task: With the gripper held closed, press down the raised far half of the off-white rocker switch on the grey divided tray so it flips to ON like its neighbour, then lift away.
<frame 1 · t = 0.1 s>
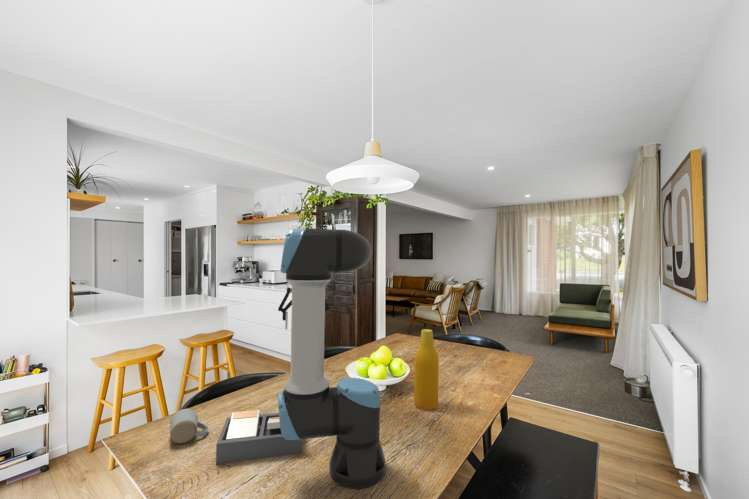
hand: (303, 327, 135), 28 cm above the table, tool pointing down, fingers open, 13 cm apart
grey divided tray: (262, 443, 101), on the table
breaker rocker: (243, 425, 100), point 6 cm above the table, hinge at -18.0°
beer bottle: (426, 406, 129), on the table
ceramic mug: (188, 437, 105), on the table
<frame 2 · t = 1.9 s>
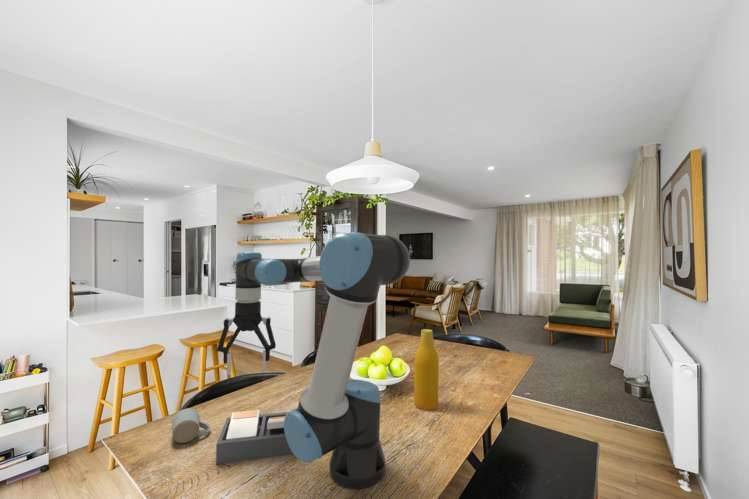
hand: (246, 372, 104), 21 cm above the table, tool pointing down, fingers open, 10 cm apart
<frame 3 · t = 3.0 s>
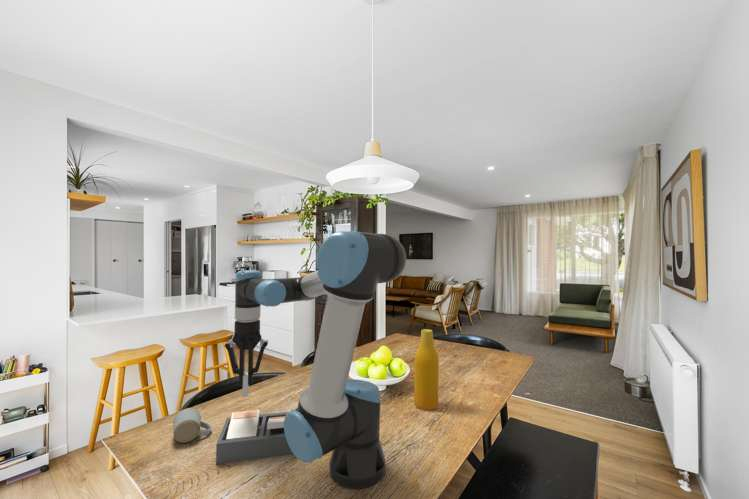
hand: (245, 394, 104), 14 cm above the table, tool pointing down, fingers closed
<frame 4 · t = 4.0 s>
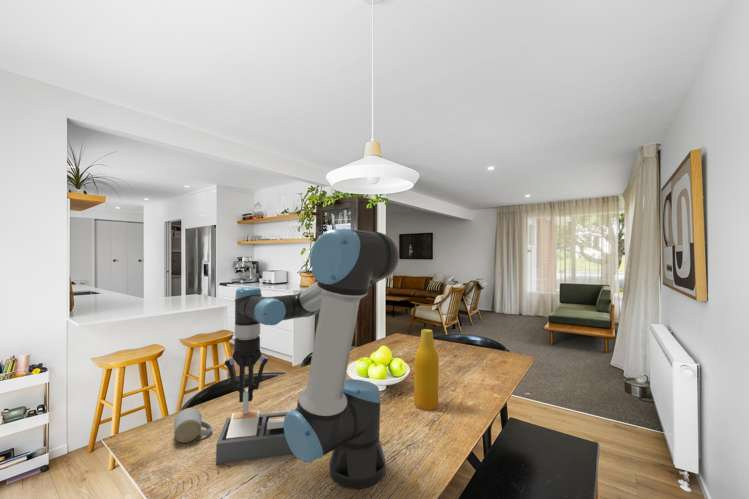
hand: (245, 411, 104), 8 cm above the table, tool pointing down, fingers closed
breaker rocker: (243, 425, 100), point 6 cm above the table, hinge at -14.7°, touching gripper
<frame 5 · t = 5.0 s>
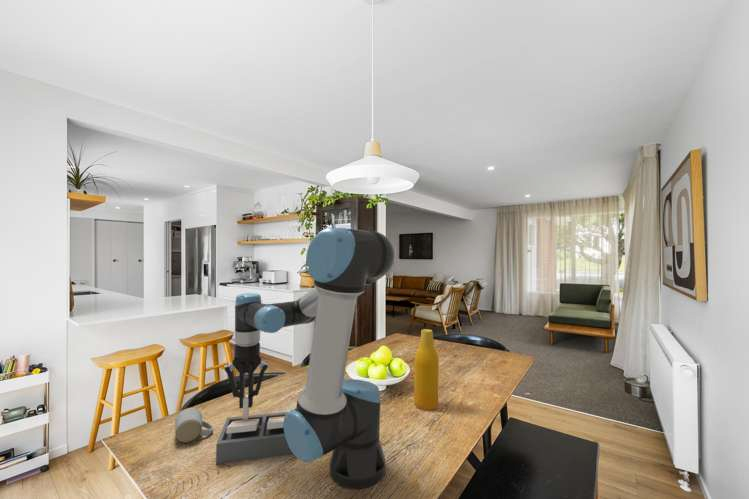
hand: (245, 417, 105), 6 cm above the table, tool pointing down, fingers closed
breaker rocker: (243, 425, 100), point 6 cm above the table, hinge at 17.7°, touching gripper
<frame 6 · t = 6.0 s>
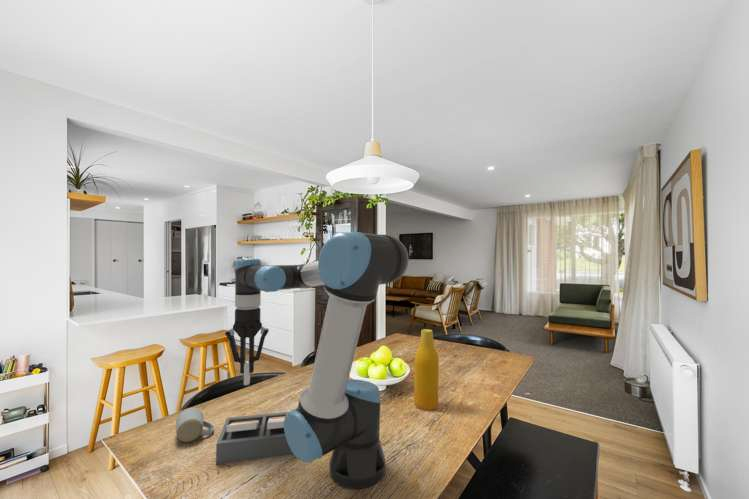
hand: (246, 383, 104), 17 cm above the table, tool pointing down, fingers closed
breaker rocker: (243, 425, 100), point 6 cm above the table, hinge at 22.1°
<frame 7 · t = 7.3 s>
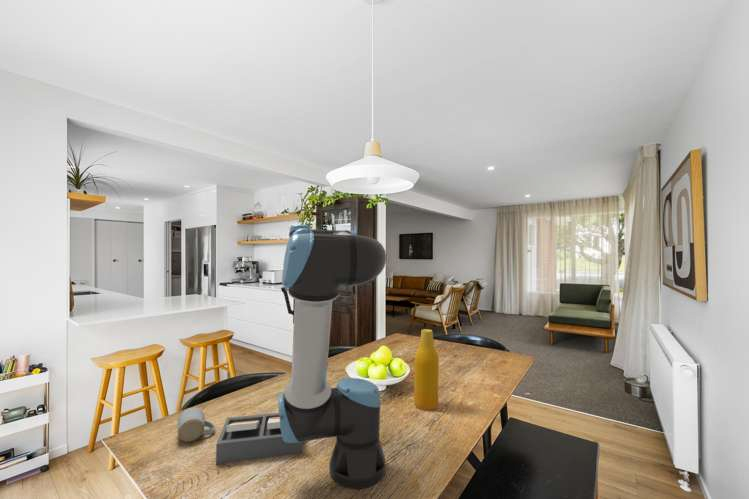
hand: (298, 333, 120), 29 cm above the table, tool pointing down, fingers closed
breaker rocker: (243, 425, 100), point 6 cm above the table, hinge at 22.7°
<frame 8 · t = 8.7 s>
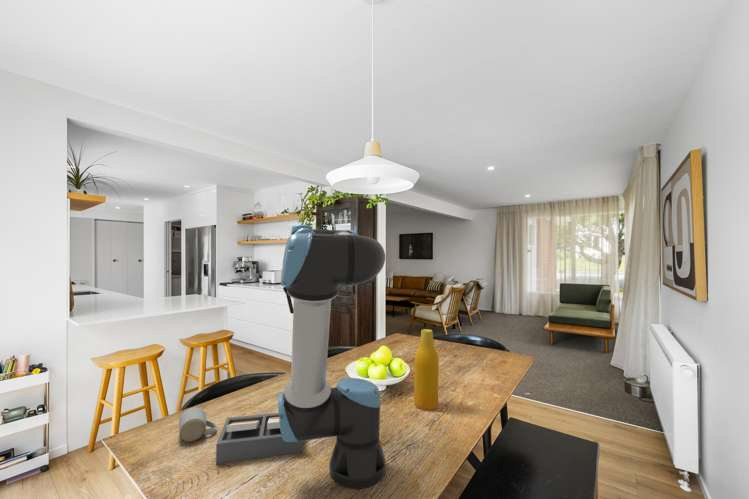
hand: (300, 332, 121), 29 cm above the table, tool pointing down, fingers closed
at the end: breaker rocker at +23° (first picture: -18°) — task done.
